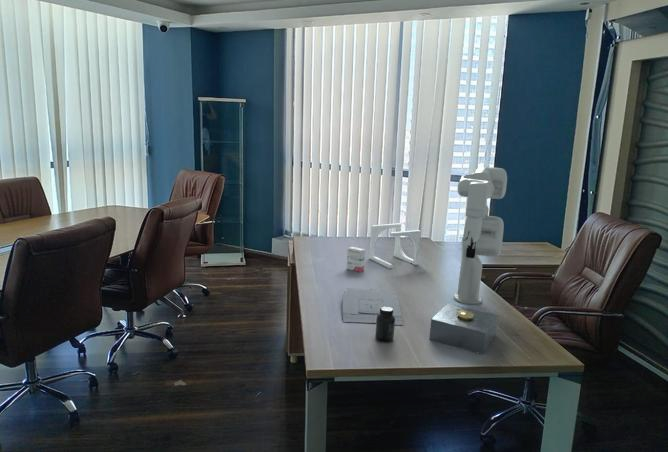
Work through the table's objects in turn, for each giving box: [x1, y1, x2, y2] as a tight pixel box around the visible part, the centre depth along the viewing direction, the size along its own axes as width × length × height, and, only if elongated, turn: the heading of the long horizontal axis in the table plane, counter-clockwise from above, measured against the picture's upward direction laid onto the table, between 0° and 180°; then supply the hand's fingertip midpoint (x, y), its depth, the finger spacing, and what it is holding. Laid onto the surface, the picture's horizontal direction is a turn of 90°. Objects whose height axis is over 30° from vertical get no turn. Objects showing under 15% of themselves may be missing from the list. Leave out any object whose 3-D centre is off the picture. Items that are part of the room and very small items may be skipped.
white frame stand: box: [368, 222, 422, 269], centre depth 283 cm, size 20×20×20 cm
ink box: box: [346, 246, 366, 273], centre depth 265 cm, size 9×5×12 cm, turn 58°
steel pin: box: [457, 310, 474, 321], centre depth 189 cm, size 6×6×10 cm
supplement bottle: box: [374, 306, 395, 343], centre depth 183 cm, size 7×7×12 cm
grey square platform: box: [428, 302, 499, 355], centre depth 189 cm, size 20×20×8 cm
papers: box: [342, 287, 404, 326], centre depth 211 cm, size 24×30×4 cm
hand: (470, 257), depth 201 cm, fingers closed
